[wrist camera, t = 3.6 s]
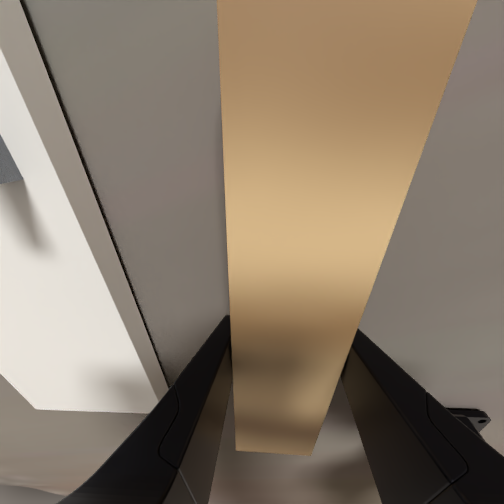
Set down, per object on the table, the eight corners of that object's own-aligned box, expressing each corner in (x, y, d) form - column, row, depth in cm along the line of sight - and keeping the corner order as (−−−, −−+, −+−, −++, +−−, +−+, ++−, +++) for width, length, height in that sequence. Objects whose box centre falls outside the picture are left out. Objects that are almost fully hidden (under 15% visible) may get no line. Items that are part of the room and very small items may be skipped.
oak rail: (301, 395, 14) (310, 455, 11) (241, 391, 14) (235, 450, 11) (397, -6, 5) (531, -146, 3) (236, -6, 5) (211, -139, 3)
